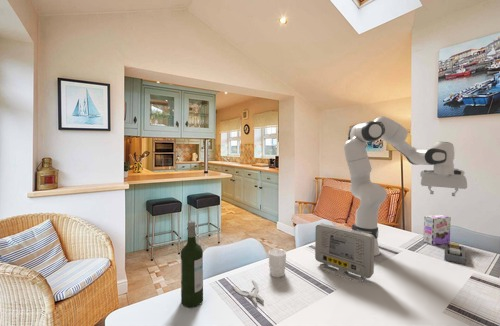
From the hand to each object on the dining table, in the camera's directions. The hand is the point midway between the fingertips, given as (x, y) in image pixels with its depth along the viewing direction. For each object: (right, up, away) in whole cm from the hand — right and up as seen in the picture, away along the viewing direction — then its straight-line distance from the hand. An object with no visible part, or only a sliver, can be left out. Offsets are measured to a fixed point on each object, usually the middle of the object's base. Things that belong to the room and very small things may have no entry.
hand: (442, 195), depth 133 cm
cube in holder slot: (-3, -32, -11) cm, 34 cm away
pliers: (-109, -34, -41) cm, 121 cm away
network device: (-66, -33, -24) cm, 77 cm away
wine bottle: (-130, -33, -45) cm, 142 cm away
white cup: (-96, -33, -26) cm, 105 cm away
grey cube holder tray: (+1, -32, -7) cm, 32 cm away
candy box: (+5, -31, +11) cm, 33 cm away
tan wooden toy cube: (+4, -31, -3) cm, 32 cm away
